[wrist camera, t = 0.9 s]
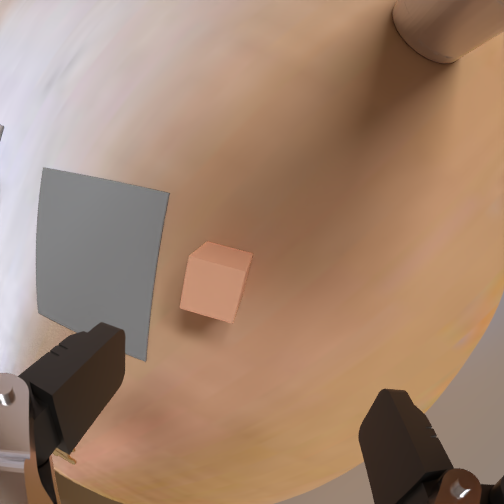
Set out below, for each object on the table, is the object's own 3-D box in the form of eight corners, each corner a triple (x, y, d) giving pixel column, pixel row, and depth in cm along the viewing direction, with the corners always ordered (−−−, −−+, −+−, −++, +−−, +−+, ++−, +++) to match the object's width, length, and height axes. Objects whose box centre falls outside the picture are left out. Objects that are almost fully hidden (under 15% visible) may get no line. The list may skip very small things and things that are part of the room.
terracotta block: (207, 241, 29) (188, 256, 23) (253, 253, 28) (246, 271, 23) (198, 284, 30) (179, 308, 24) (242, 296, 30) (232, 323, 24)
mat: (44, 167, 29) (42, 167, 28) (169, 193, 28) (168, 193, 28) (38, 312, 33) (38, 312, 33) (146, 360, 33) (145, 361, 32)
